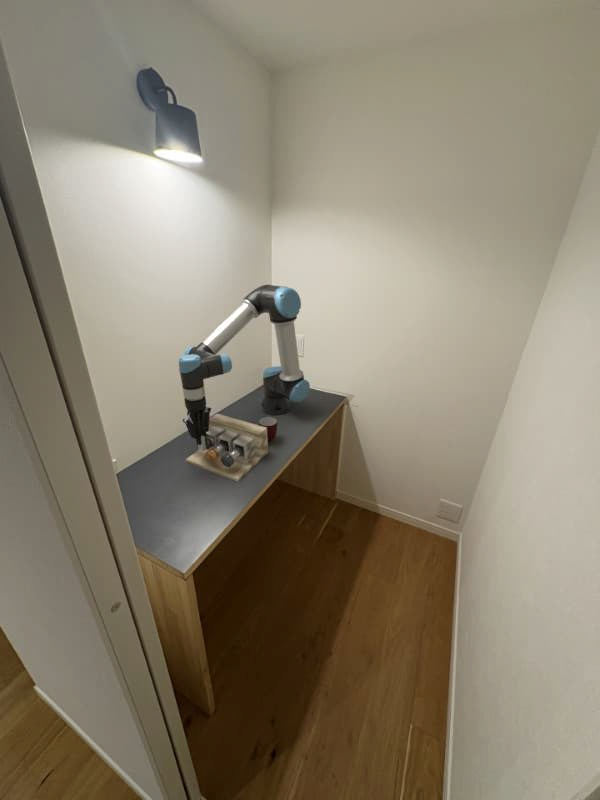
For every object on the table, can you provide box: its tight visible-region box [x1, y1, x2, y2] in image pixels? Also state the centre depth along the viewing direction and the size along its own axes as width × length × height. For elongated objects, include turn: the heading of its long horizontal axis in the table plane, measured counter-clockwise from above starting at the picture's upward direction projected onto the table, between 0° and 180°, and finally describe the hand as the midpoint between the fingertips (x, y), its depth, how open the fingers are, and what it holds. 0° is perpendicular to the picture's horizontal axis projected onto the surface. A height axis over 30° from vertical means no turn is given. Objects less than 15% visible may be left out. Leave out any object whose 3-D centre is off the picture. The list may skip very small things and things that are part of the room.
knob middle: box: [206, 441, 229, 462], centre depth 124 cm, size 9×5×5 cm, turn 153°
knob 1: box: [205, 436, 214, 449], centre depth 131 cm, size 9×5×5 cm, turn 153°
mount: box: [185, 413, 269, 482], centre depth 128 cm, size 21×26×12 cm
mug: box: [258, 416, 278, 444], centre depth 139 cm, size 10×8×10 cm
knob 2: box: [221, 446, 244, 467], centre depth 121 cm, size 9×5×5 cm, turn 153°
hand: (202, 449), depth 127 cm, fingers closed
